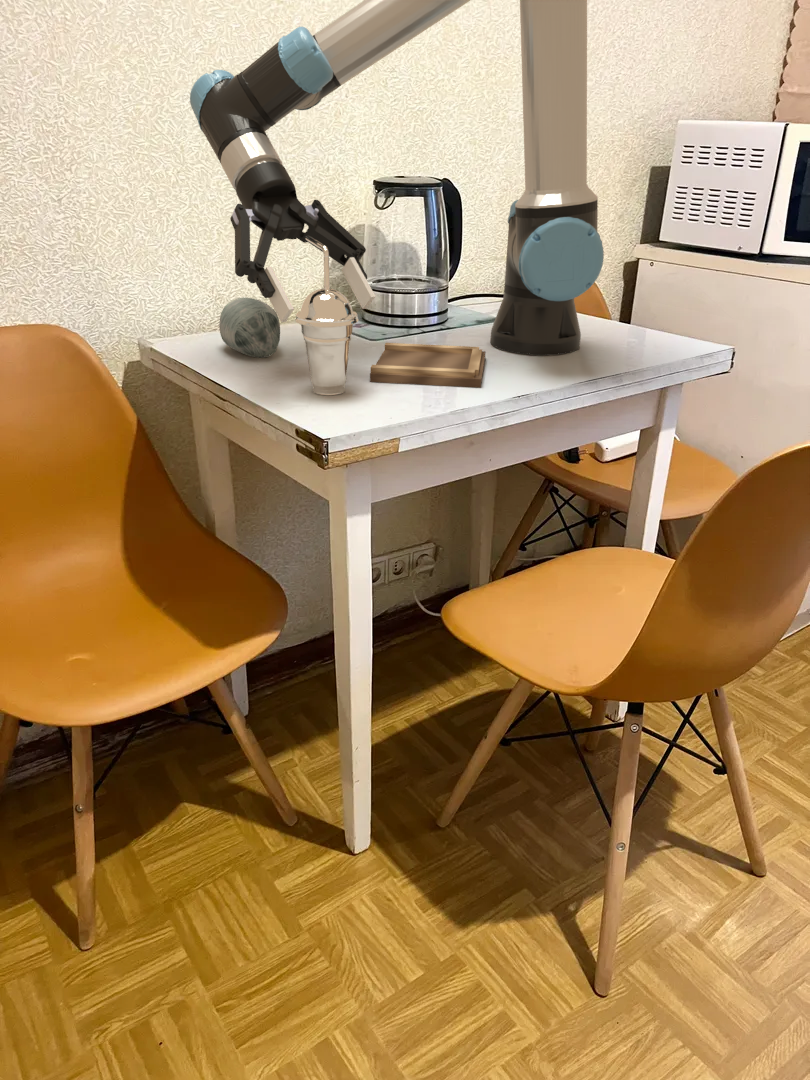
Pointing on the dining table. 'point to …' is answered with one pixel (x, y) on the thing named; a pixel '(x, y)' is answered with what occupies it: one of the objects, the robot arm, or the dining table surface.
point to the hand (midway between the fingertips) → (330, 309)
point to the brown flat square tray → (429, 365)
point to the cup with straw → (327, 333)
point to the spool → (250, 327)
